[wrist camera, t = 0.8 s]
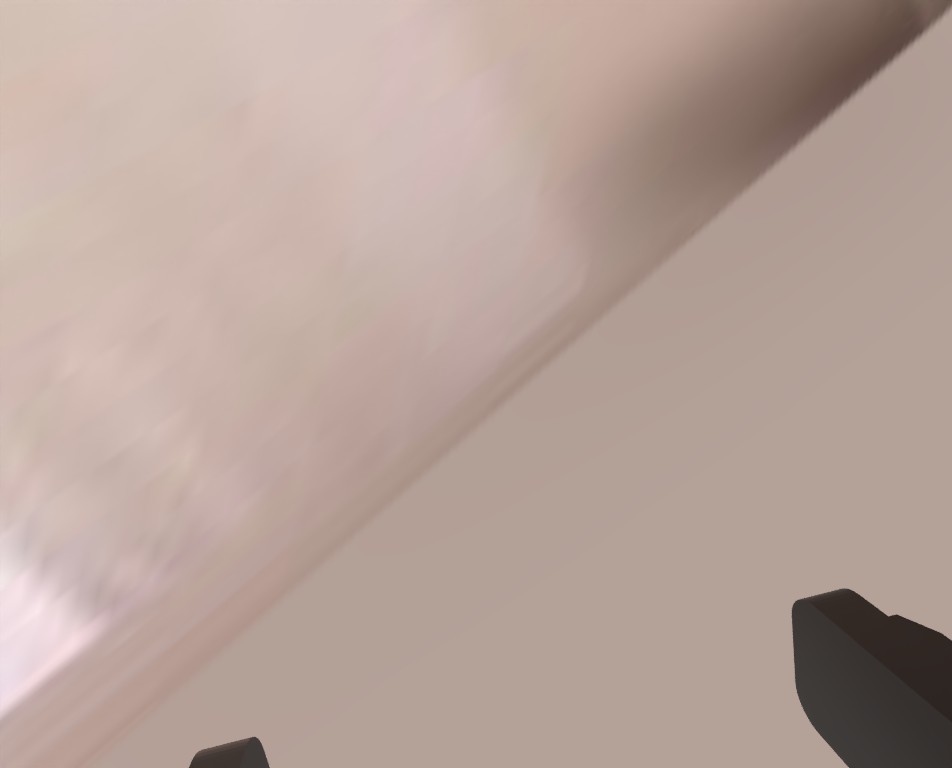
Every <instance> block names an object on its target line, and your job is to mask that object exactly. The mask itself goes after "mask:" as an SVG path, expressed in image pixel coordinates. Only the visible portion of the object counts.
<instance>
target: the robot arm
mask: <svg viewBox="0 0 952 768" xmlns="http://www.w3.org/2000/svg"><path fill="white" fill-rule="evenodd" d="M792 625H793V643H794V663H795V679H796V680H795V682H796V689H797V693H798V696H799V700H800V702H801V705H802V707H803V709H804V711H805V713H806V715H807V717H808V719H809V720H810V722H811V724H812V725H813V726H814V728H815V729H816V730H817V732H818V733H819V734H820V735H821V736H822V738H823V739H824V740H825V741H826V742H827V743H828V744H829V745H830V746H831V748H832V749H833V750H834V751H835V752H836V753H837V755H838V756H839V757H840V758H841V759H842V760H843V761H844V763H845V764H846V765H847V766H848V767H849V768H952V641H951V640H950V639H948V638H947V637H946V636H944V635H943V634H941V633H939V632H937V631H935V630H932V629H930V628H927V627H925V626H923V625H920V624H918V623H916V622H913V621H911V620H908V619H906V618H904V617H901V616H899V615H893V616H889V617H888V616H887V615H886V614H884V613H883V612H881V611H880V610H879V609H878V608H876V607H875V606H874V605H872V604H871V603H869V602H868V601H867V600H865V599H864V598H863V597H861V596H860V595H858V594H857V593H855V592H854V591H852V590H850V589H839V590H835V591H831V592H827V593H824V594H819V595H815V596H812V597H808V598H804V599H800V600H797V601H796V602H795V603H794V605H793V608H792ZM189 768H270V767H269V764H268V762H267V758H266V755H265V752H264V749H263V747H262V744H261V742H260V741H259V739H258V738H256V737H252V738H247V739H244V740H239V741H235V742H231V743H227V744H223V745H220V746H216V747H212V748H208V749H204V750H201V751H199V752H198V753H197V754H196V755H195V756H194V758H193V760H192V762H191V765H190V767H189Z"/></svg>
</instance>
